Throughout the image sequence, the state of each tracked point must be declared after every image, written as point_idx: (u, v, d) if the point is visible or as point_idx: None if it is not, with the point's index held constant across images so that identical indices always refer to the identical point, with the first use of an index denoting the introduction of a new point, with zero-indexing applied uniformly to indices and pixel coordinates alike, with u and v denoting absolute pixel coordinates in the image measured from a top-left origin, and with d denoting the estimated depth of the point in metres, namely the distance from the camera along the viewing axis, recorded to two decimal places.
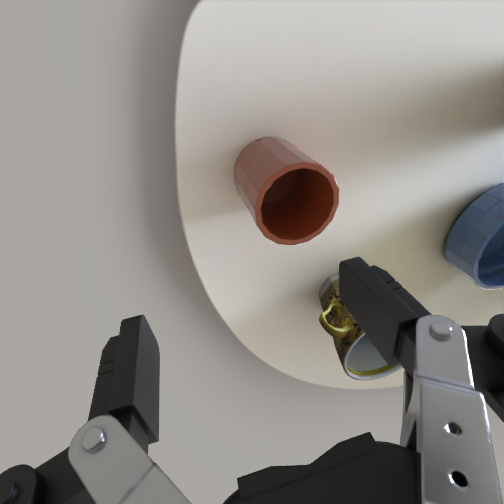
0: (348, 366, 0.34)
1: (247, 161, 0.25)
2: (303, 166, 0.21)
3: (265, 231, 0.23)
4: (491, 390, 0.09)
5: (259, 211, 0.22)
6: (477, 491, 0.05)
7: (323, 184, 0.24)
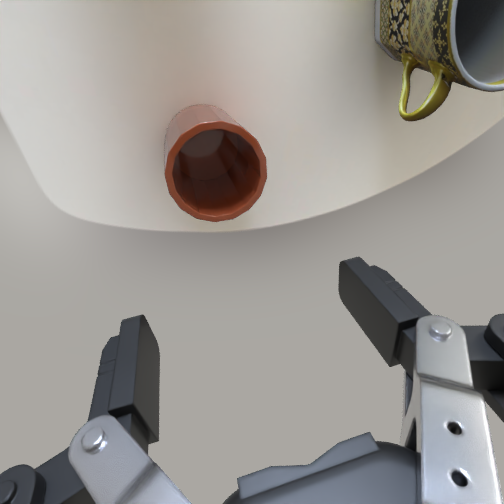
0: None
1: None
2: (170, 174, 0.19)
3: (242, 209, 0.21)
4: (491, 390, 0.09)
5: (218, 217, 0.21)
6: (477, 491, 0.05)
7: None
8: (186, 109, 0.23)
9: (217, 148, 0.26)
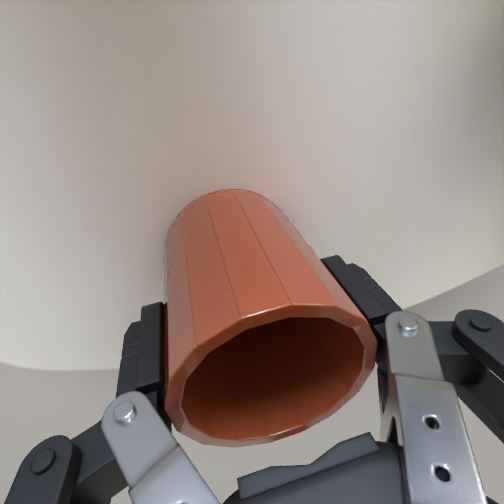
0: None
1: None
2: (176, 408, 0.08)
3: (321, 417, 0.11)
4: (462, 385, 0.09)
5: (275, 436, 0.11)
6: (477, 491, 0.05)
7: None
8: (199, 207, 0.13)
9: None
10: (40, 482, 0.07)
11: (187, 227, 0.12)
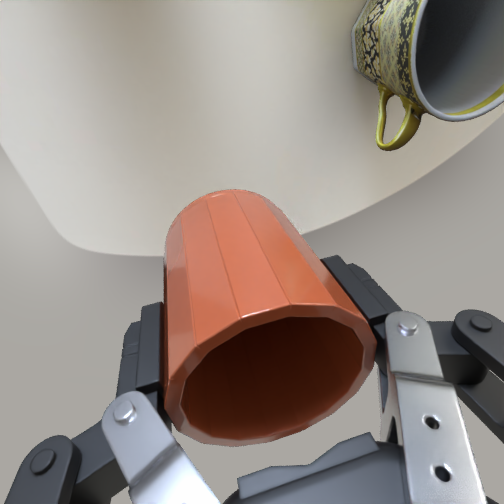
0: (494, 88, 0.20)
1: None
2: (176, 407, 0.08)
3: (321, 417, 0.11)
4: (462, 385, 0.09)
5: (275, 436, 0.11)
6: (477, 491, 0.05)
7: None
8: (199, 207, 0.13)
9: None
10: (40, 482, 0.07)
11: (187, 227, 0.12)
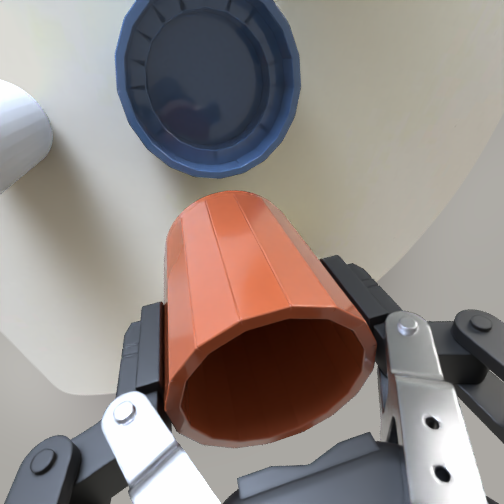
0: None
1: None
2: (176, 409, 0.08)
3: (321, 418, 0.11)
4: (462, 385, 0.09)
5: (275, 437, 0.11)
6: (477, 491, 0.05)
7: None
8: (199, 208, 0.13)
9: None
10: (39, 482, 0.07)
11: (187, 228, 0.12)
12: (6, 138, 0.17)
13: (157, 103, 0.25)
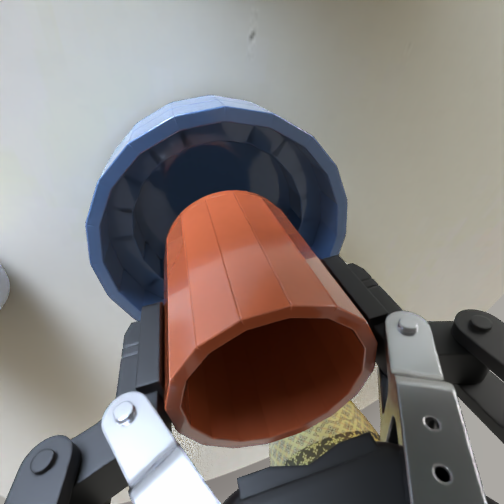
0: None
1: None
2: (176, 408, 0.08)
3: (321, 418, 0.11)
4: (462, 385, 0.09)
5: (275, 437, 0.11)
6: (477, 491, 0.05)
7: None
8: (199, 207, 0.13)
9: None
10: (39, 483, 0.07)
11: (187, 228, 0.12)
12: None
13: (151, 237, 0.19)
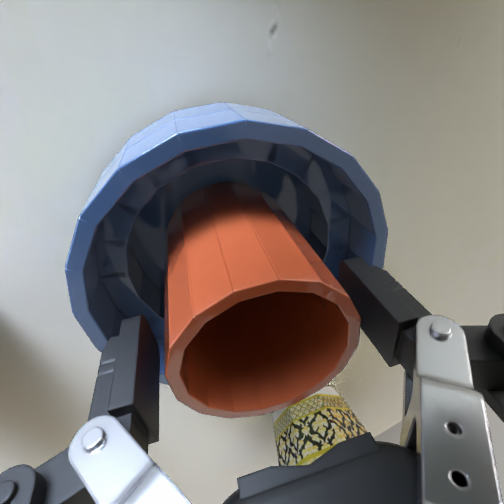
0: None
1: None
2: (176, 376, 0.09)
3: (310, 391, 0.12)
4: (491, 390, 0.09)
5: (267, 409, 0.11)
6: (477, 491, 0.05)
7: None
8: (198, 197, 0.14)
9: None
10: None
11: (186, 216, 0.13)
12: None
13: (149, 267, 0.16)
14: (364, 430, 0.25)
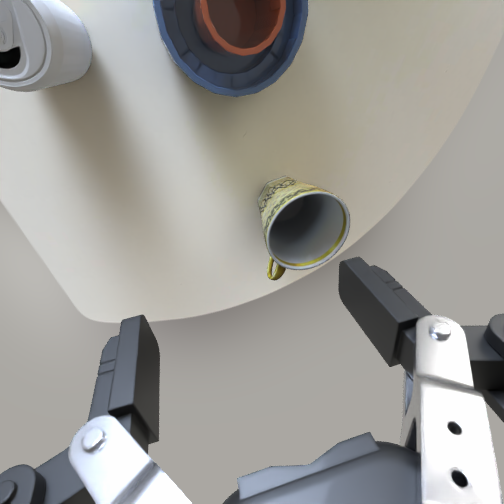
0: (327, 249, 0.37)
1: (211, 46, 0.28)
2: None
3: (266, 43, 0.24)
4: (491, 390, 0.09)
5: (245, 50, 0.24)
6: (477, 491, 0.05)
7: None
8: None
9: (238, 15, 0.29)
10: None
11: None
12: (66, 29, 0.21)
13: (182, 29, 0.29)
14: None
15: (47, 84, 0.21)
